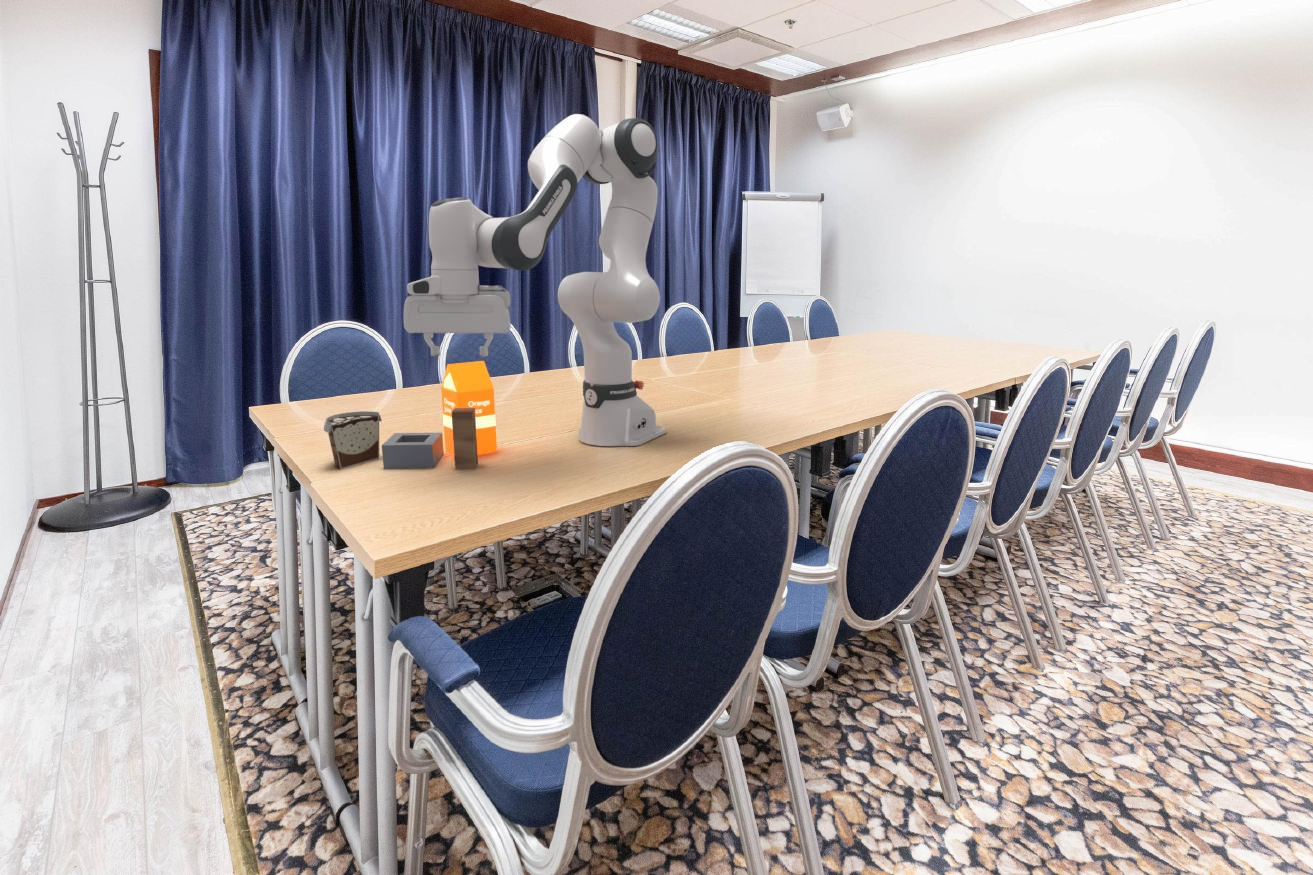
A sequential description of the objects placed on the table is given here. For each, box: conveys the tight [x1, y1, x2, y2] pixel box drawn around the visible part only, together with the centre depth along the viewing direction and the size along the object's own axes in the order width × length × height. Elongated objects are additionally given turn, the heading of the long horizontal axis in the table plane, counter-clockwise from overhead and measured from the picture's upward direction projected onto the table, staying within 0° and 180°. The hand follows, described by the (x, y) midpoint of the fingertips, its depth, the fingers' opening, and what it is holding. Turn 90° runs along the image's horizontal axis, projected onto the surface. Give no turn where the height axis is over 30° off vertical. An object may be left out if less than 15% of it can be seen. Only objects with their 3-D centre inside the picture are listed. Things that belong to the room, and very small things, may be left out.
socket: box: [381, 432, 445, 470], centre depth 146 cm, size 10×10×5 cm
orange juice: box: [440, 360, 498, 456], centre depth 152 cm, size 8×9×20 cm
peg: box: [451, 408, 479, 470], centre depth 142 cm, size 4×4×12 cm
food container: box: [323, 410, 383, 470], centre depth 145 cm, size 12×6×10 cm, turn 149°
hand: (459, 355), depth 138 cm, fingers open, 8 cm apart
